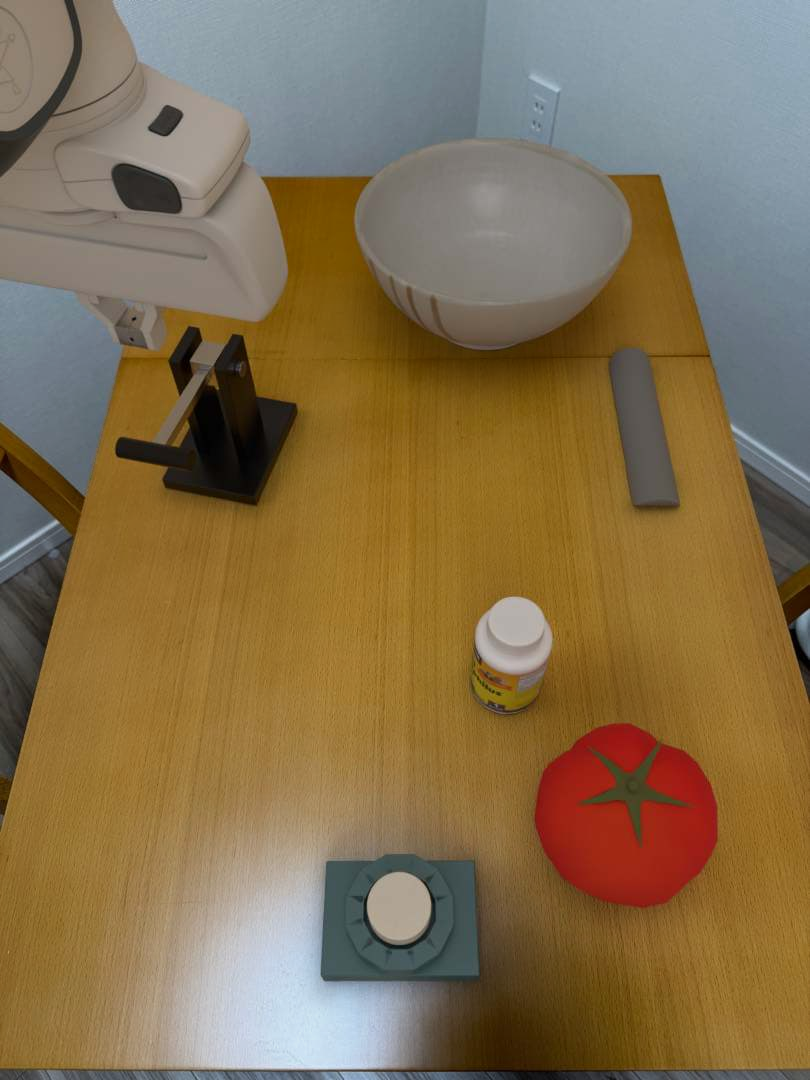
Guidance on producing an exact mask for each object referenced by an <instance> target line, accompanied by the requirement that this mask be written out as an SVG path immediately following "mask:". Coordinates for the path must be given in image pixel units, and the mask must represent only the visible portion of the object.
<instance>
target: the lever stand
mask: <svg viewBox="0 0 810 1080" xmlns="http://www.w3.org/2000/svg"><path fill="white" fill-rule="evenodd" d="M202 340H203V337H202V333H201V330H200V327H198V326H192V325H188V326H187V328H186V329H185V332H184V333H183V334H182V336H181V338H180V340H179V341H178V343H177V345H176V347H175V348H174V350H173V351H172V353H171V355H170V356H169V359H168V360H167V362H168V365H169V368H170V371H171V373H172V377H173V380H174V383H175V386H176V389H177V393H178V396H179V397H180V396H181V394H182V393H183V391H184V389H185V388H186V386H187V385H188V383H189V381H190V380H191V378H192V376H193V373H192V370H191V366H190V362H189V361H190V359H191V358H192V356H193V354H194V353H195V351H196V350H197V348H198V346H199V345H200V343H201V342H202ZM246 346H247V345H246V342H245V337H244V335H243V334H238V333H232V334H231V335H230V337H229V339H228V341H227V343H226V347H225V348H224V350H223V352H222V354H221V356H220V358H219V360H218V361H217V363H216V365H215V367H214V372H215V376H216V379H217V383H218V387H216V386H211V385H207V387H206V389H205V390H204V392H203V394H202V395H201V397H200V399H199V400H198V402H197V404H196V405H195V407H194V409H193V411H192V412H191V414H190V416H189V417H188V419H187V422H188V427H189V428H188V429H187V432H186V433H185V435H184V437H183V439H182V441H181V443H180V445H179V446H178V447H180V448H185V449H190V450H194V451H195V452H196V464H195V467H194V469H193V470H192V471H190V472H189V471H184V470H179V469H174V468H169V467H167V469H166V471H165V473H164V475H163V477H162V479H161V480H162V481H161V482H162V483H163V486H164V488H166V489H169V490H175V491H179V492H185V493H190V494H195V495H199V496H206V497H210V498H215V499H221V500H226V501H231V502H235V503H240V504H245V505H250V506H257V505H258V502H259V501H260V498H261V496H262V494H263V491H264V489H265V487H266V485H267V482H268V480H269V478H270V476H271V473H272V472H273V469H274V466H275V464H276V463H277V460H278V457H279V455H280V453H281V451H282V449H283V446H284V444H285V442H286V439H287V438H288V435H289V433H290V431H291V428H292V426H293V424H294V421H295V420H296V417H297V415H298V406H297V403H296V402H291V401H285V400H278V399H275V398H274V399H273V398H267V397H263V396H257V392H256V386H255V383H254V379H253V378H254V377H253V374H252V370H251V364H250V360H249V356H248V351H247V347H246ZM217 388H218V389H217Z"/></svg>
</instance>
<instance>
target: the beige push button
mask: <svg viewBox="0 0 810 1080" xmlns="http://www.w3.org/2000/svg"><path fill="white" fill-rule="evenodd" d="M367 912H368V917H369V921H370V924H371V927H372V929H373V930H374V932H375V933H376V935H377V936H378V937H379V938H381V939H382V940H383V941H385V942H387V943H390V944H393V945H406V944H409V943H412V942H414V941H416V940H417V939H418V938H420V937H421V936H422V935H423V933H424V932H425V931H426V929H427V927H428V925H429V922H430V918H431V898H430V895H429V892H428V890H427V888H426V886H425V885H424V884H423V882H422V881H421V880H420V879H418V878H417V877H416V876H414V875H412V874H409V873H406V872H393V873H390V874H387V875H385V876H383V877H382V878H380V879H379V880H378V881H377V882H376V883H375V884H374V886H373V887H372V889H371V891H370V893H369V896H368V900H367Z"/></svg>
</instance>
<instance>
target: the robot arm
mask: <svg viewBox="0 0 810 1080" xmlns="http://www.w3.org/2000/svg"><path fill="white" fill-rule="evenodd" d="M250 144H251V131H250V127H249V123H248V121H247V118H246V117H245V115H244V114H243V113H242V112H241V111H239V110H238V109H236V108H235V107H233V106H231V105H229V104H227V103H225V102H223V101H220V100H218V99H216V98H213V97H210V96H209V95H206V94H204V93H201V92H199V91H197V90H196V89H193V88H190V87H189V86H187V85H185V84H183V83H180V82H178V81H176V80H175V79H172V78H171V77H169V76H167V75H165V74H164V73H162V72H160V71H159V70H157V69H156V68H153V67H151V65H149V64H146V63H144V62H141V61H139V58H138V54H137V51H136V47H135V45H134V42H133V40H132V37H131V34H130V32H129V31H128V29H127V27H126V26H125V24H124V22H123V21H122V20H121V17H120V15H119V14H118V12H117V9H116V7H115V4H114V1H113V0H0V280H4V281H8V282H14V283H21V284H27V285H33V286H39V287H45V288H50V289H56V290H61V291H62V290H63V291H68V292H74V293H75V295H76V297H77V299H78V302H79V303H80V304H81V305H82V306H83V307H84V308H85V309H86V310H88V311H89V312H90V313H91V314H92V315H93V316H94V317H95V318H97V320H99V321H100V322H101V323H102V324H103V325H105V326H106V328H107V330H108V333H109V335H110V338H111V340H112V343H113V344H114V345H120V346H121V345H122V346H126V347H127V346H128V347H132V348H133V347H134V348H137V349H138V348H139V349H144V350H148V351H154V352H159V351H160V350H161V349H162V347H163V346H164V344H165V342H166V340H167V338H168V329H167V328H168V327H167V325H166V323H165V319H164V316H163V315H164V313H165V311H166V309H167V308H169V309H174V310H180V311H186V312H192V313H198V314H205V315H210V316H216V317H223V318H227V319H233V320H234V319H235V320H240V321H245V322H249V323H259V322H261V321H263V320H264V319H265V318H266V317H267V316H268V315H269V314H271V312H272V310H273V309H274V308H275V306H276V305H277V303H278V301H279V300H280V298H281V297H282V294H283V292H284V290H285V288H286V285H287V281H288V278H289V277H288V276H289V267H288V260H287V254H286V248H285V245H284V239H283V235H282V231H281V227H280V223H279V220H278V216H277V212H276V209H275V206H274V203H273V199H272V198H271V194H270V191H269V189H268V187H267V185H266V183H265V181H264V180H263V178H262V177H261V176H260V174H259V173H258V172H257V171H256V170H255V168H253V167H252V166H251V165H250V164H248V163H247V162H246V161H244V160H245V157H246V155H247V152H248V149H249V146H250ZM125 301H127V302H132V305H133V307H129V306H128V305H127V303H126V302H125Z"/></svg>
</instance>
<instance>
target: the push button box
mask: <svg viewBox="0 0 810 1080" xmlns="http://www.w3.org/2000/svg"><path fill="white" fill-rule="evenodd" d="M475 862H476V861H475V860H472V859H471V860H469V859H468V860H466V859H465V860H461V859H459V860H425V859H423V858H421V857H420V856H418V855H417V854H414V853H385V854H383V855H382V856H380V857H378V858H377V859H375V860H327V861H326V862H325V877H324V878H325V881H324V897H323V898H324V899H323V917H322V919H323V921H322V938H321V940H322V941H321V956H320V958H321V959H320V978H322V980H323V981H324V982H477V981H479V977H480V974H481V972H480V971H481V970H480V951H479V929H478V907H477V886H476V885H477V883H476V863H475ZM393 872H406V873H409V874H412V875H414V876H416V877H417V878H418V879H420V880H421V881H422V882H423V884H424V885H425V886H426V888H427V890H428V892H429V895H430V898H431V918H430V922H429V925H428V927H427V929H426V931H425V932H424V933H423V935H422V936H421V937H420V938H418V939H417V940H416V941H414V942H412V943H409V944H406V945H393V944H390V943H387V942H385V941H383V940H382V939H381V938H379V937H378V936H377V935H376V933H375V932H374V930H373V929H372V927H371V924H370V921H369V917H368V912H367V900H368V896H369V893H370V891H371V889H372V887H373V886H374V884H375V883H376V882H377V881H378V880H379V879H380V878H382V877H383V876H385V875H387V874H390V873H393Z"/></svg>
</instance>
